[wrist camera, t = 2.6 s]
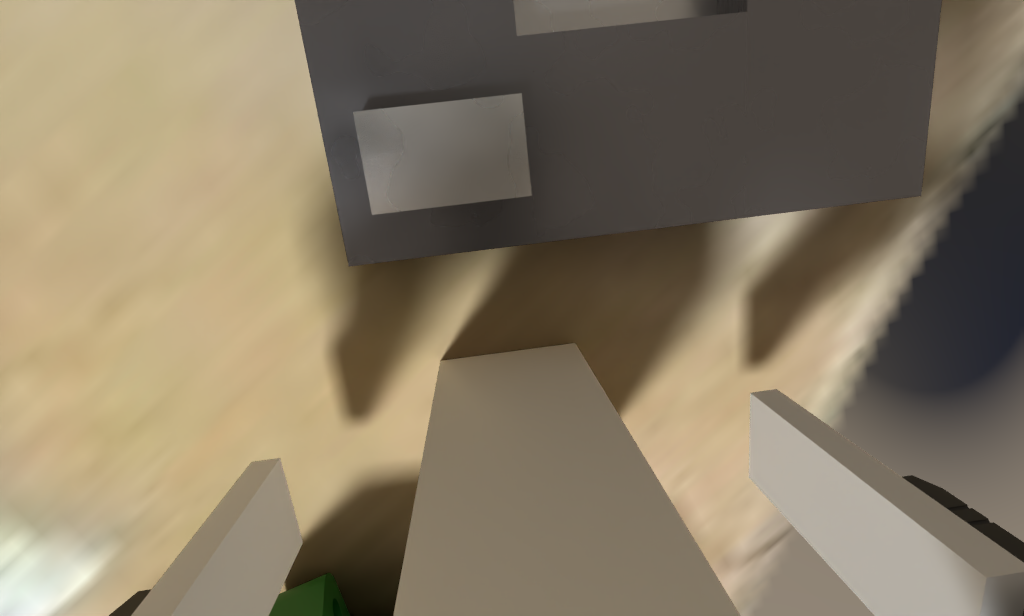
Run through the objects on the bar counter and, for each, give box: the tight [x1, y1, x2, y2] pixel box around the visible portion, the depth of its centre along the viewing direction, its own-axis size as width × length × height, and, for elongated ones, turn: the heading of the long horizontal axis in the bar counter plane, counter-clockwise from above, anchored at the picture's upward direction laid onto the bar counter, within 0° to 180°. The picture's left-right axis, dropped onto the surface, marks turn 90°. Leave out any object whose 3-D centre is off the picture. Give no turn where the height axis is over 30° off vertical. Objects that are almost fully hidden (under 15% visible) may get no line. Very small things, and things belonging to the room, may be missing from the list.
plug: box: [393, 343, 740, 616], centre depth 11 cm, size 4×4×13 cm
